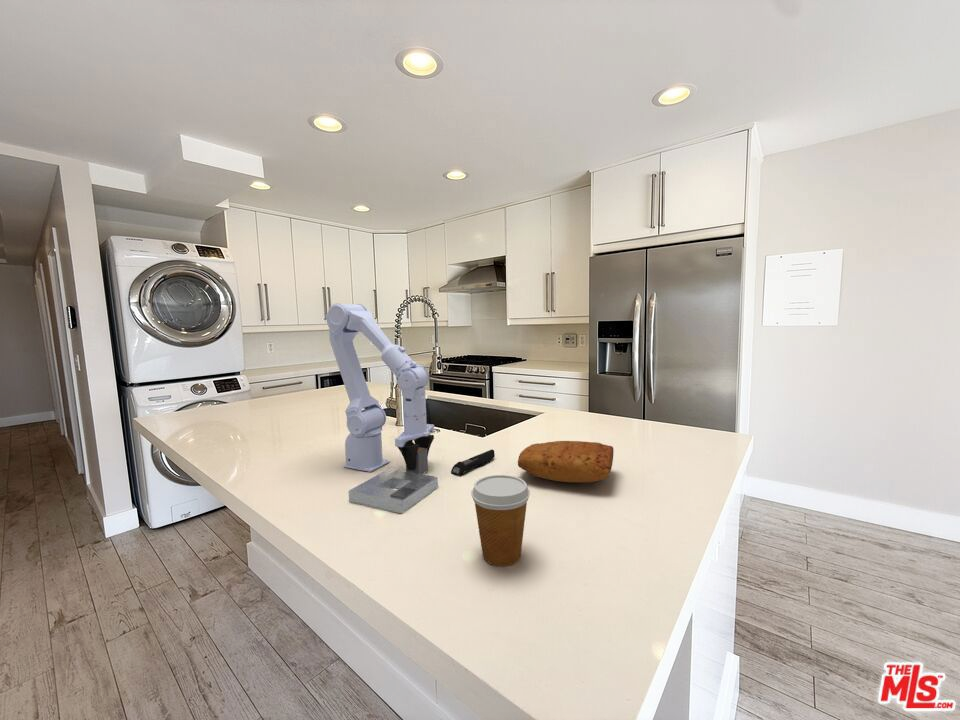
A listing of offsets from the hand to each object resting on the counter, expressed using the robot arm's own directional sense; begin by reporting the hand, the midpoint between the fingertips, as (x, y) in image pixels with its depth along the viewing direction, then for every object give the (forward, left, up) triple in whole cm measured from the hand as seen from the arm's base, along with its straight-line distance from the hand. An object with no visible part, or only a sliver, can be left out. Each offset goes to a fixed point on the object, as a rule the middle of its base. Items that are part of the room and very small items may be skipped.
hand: (416, 466), depth 103 cm
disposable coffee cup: (+34, -25, -2) cm, 42 cm away
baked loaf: (+36, +11, -2) cm, 38 cm away
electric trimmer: (+12, +9, -2) cm, 15 cm away
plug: (0, 0, -2) cm, 2 cm away
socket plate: (+3, -13, -2) cm, 13 cm away
